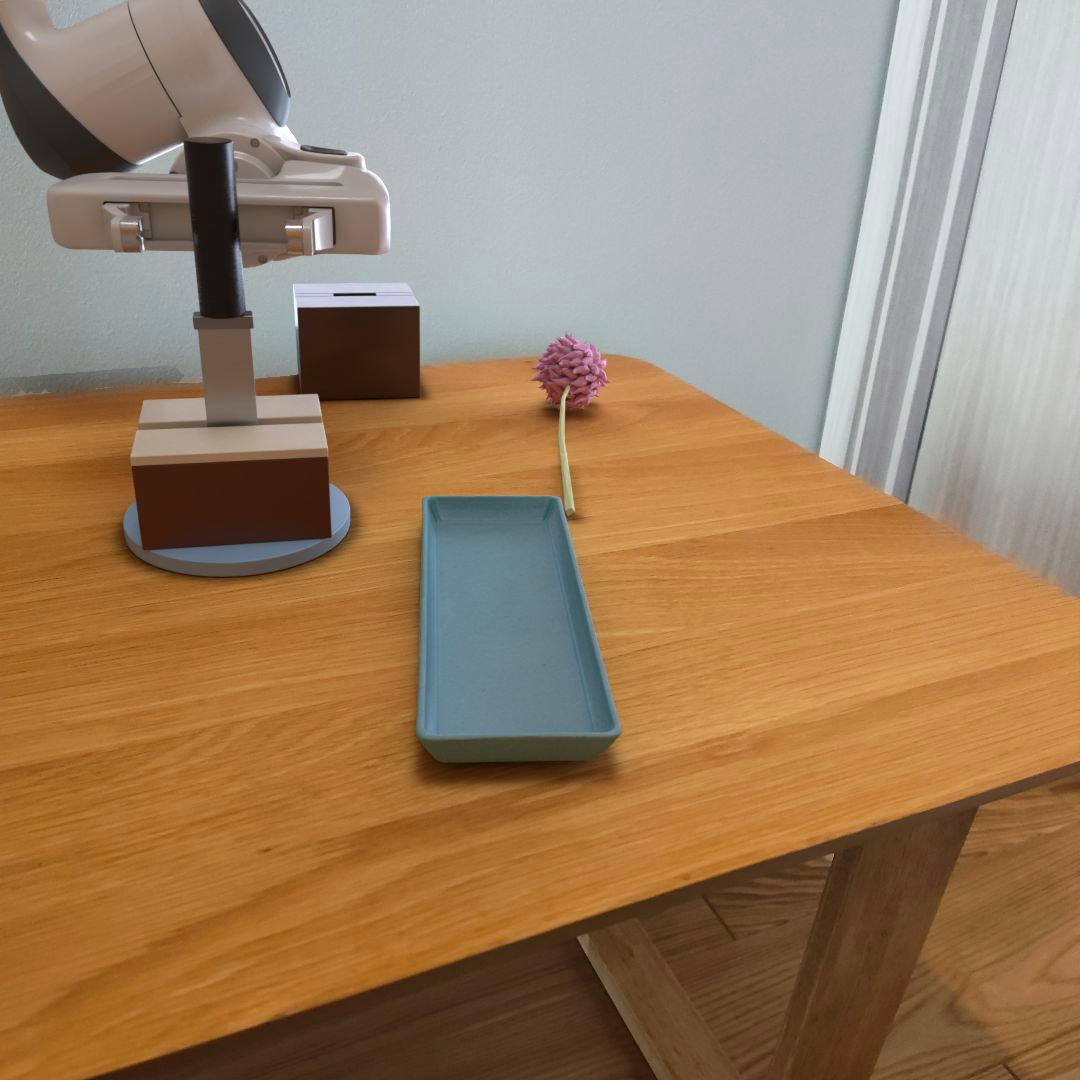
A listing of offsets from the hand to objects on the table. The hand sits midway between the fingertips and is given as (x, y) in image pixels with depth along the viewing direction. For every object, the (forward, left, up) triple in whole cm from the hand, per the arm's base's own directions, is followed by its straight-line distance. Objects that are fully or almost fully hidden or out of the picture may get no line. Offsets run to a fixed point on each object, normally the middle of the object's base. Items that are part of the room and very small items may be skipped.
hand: (213, 239), depth 60 cm
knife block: (+10, +27, -18) cm, 34 cm away
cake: (0, 0, -18) cm, 18 cm away
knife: (0, 0, -17) cm, 17 cm away
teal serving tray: (+14, -15, -18) cm, 27 cm away
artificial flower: (+25, +10, -18) cm, 33 cm away
